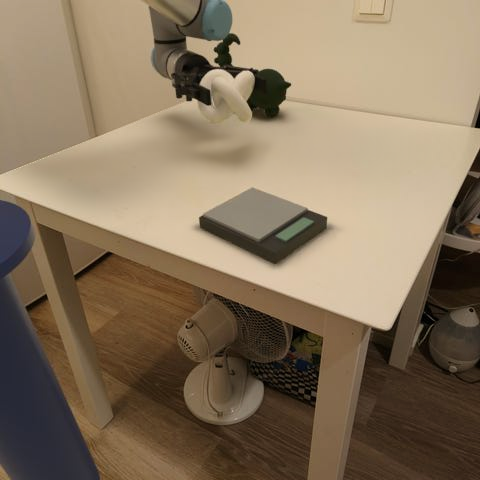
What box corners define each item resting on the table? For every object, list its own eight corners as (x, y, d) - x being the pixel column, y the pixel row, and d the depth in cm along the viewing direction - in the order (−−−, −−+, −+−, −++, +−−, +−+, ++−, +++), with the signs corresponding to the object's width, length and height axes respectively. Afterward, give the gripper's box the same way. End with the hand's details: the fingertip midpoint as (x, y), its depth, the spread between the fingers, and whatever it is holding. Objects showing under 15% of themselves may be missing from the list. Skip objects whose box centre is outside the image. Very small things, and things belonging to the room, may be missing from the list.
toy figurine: (212, 113, 124) (279, 125, 108) (202, 36, 114) (274, 36, 98) (237, 105, 129) (304, 115, 113) (229, 30, 119) (302, 29, 103)
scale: (199, 227, 74) (198, 213, 72) (252, 198, 81) (252, 185, 80) (275, 264, 65) (275, 249, 64) (326, 227, 72) (327, 213, 71)
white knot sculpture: (227, 106, 99) (225, 61, 94) (272, 116, 93) (272, 69, 87) (192, 120, 92) (187, 73, 87) (237, 132, 86) (235, 82, 81)
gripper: (236, 79, 108) (288, 101, 93) (142, 97, 99) (183, 124, 84) (235, 44, 104) (289, 61, 89) (136, 60, 95) (178, 81, 80)
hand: (237, 92), depth 86 cm, fingers closed on white knot sculpture, 12 cm apart
